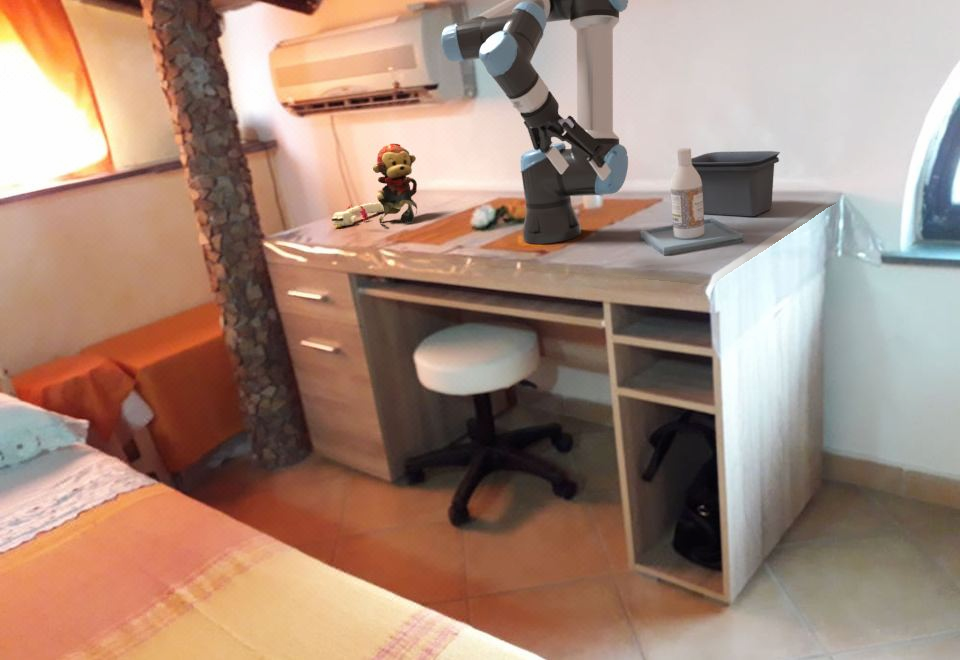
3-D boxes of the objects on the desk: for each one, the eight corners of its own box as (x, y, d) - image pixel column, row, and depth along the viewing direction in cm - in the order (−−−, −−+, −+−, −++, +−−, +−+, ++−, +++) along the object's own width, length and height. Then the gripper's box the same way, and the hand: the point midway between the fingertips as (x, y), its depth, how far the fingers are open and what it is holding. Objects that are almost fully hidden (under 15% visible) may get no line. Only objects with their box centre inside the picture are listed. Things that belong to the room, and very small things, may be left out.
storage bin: (682, 216, 204) (679, 161, 199) (716, 201, 213) (713, 149, 208) (757, 221, 188) (756, 162, 183) (790, 205, 197) (789, 148, 192)
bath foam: (692, 241, 177) (687, 152, 170) (667, 238, 182) (661, 152, 175) (710, 233, 181) (706, 146, 174) (686, 230, 186) (681, 146, 179)
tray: (640, 237, 190) (640, 230, 189) (712, 225, 191) (712, 218, 190) (664, 255, 173) (663, 247, 173) (742, 241, 174) (742, 234, 173)
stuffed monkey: (362, 223, 250) (359, 143, 247) (401, 222, 262) (399, 146, 259) (393, 223, 240) (390, 139, 237) (432, 222, 252) (430, 143, 249)
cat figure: (377, 214, 277) (324, 227, 258) (374, 189, 275) (320, 201, 256) (397, 214, 271) (345, 227, 252) (394, 189, 269) (341, 200, 250)
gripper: (487, 112, 168) (539, 179, 181) (563, 117, 149) (615, 192, 161) (508, 87, 169) (557, 155, 182) (586, 89, 150) (635, 164, 163)
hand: (585, 172), depth 172 cm, fingers open, 13 cm apart
